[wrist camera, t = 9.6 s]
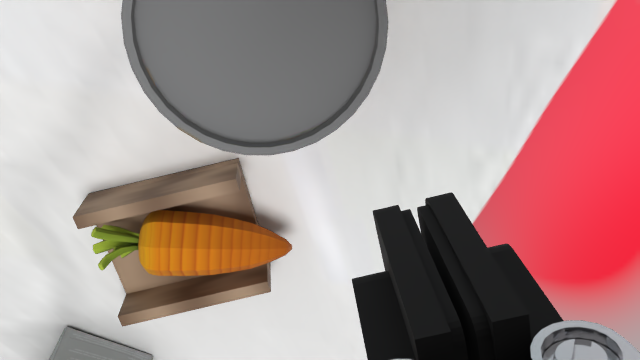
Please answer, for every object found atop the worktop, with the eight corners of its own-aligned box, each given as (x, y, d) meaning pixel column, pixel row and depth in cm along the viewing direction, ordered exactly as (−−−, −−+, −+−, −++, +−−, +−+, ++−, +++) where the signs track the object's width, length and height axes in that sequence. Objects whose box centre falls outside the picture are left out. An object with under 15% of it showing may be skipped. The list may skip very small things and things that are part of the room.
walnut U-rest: (238, 158, 44) (235, 178, 40) (270, 264, 48) (270, 291, 44) (88, 193, 44) (72, 217, 40) (133, 296, 48) (122, 326, 44)
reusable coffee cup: (139, -74, 37) (65, -76, 23) (325, -128, 37) (360, -163, 23) (204, 105, 42) (175, 189, 28) (367, 59, 42) (417, 122, 28)
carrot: (296, 218, 41) (82, 209, 39) (293, 286, 41) (79, 280, 39) (290, 213, 46) (100, 204, 44) (287, 273, 46) (97, 268, 44)
